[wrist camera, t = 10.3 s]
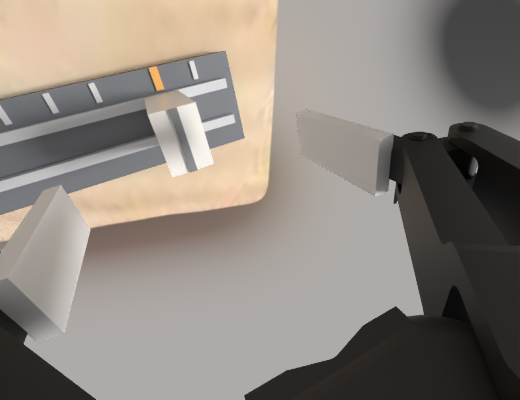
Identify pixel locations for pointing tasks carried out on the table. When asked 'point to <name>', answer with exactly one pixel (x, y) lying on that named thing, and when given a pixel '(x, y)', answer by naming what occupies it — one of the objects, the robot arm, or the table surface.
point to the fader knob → (179, 132)
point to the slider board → (105, 127)
